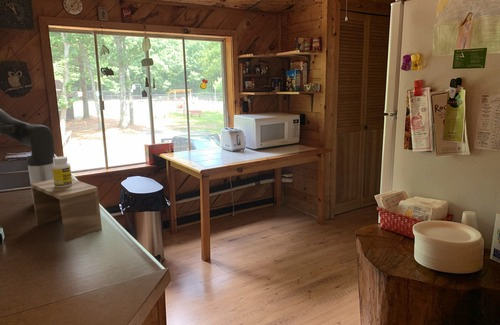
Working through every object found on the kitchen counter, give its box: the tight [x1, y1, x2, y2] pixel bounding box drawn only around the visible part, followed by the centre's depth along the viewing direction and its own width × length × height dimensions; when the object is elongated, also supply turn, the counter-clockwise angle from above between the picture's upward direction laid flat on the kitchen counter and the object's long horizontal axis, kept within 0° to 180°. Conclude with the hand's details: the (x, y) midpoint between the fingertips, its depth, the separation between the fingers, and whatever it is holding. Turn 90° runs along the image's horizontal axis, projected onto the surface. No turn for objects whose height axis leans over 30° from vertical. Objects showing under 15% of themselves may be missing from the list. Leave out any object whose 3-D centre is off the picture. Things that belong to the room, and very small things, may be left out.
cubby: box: [30, 178, 103, 243], centre depth 124 cm, size 23×12×15 cm, turn 51°
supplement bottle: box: [52, 156, 73, 188], centre depth 120 cm, size 5×5×10 cm
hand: (9, 127), depth 110 cm, fingers open, 8 cm apart
